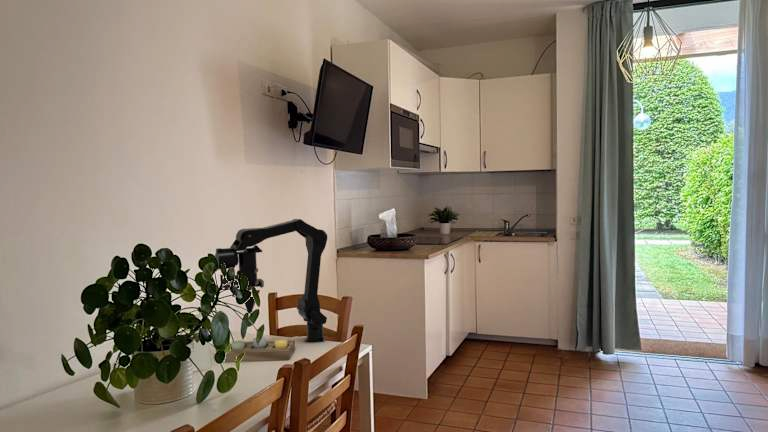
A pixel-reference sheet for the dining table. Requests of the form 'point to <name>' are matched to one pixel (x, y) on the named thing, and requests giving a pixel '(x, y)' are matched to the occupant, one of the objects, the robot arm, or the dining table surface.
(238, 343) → the button sage
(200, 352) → the cup
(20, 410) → the dining table surface
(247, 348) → the brown button tray
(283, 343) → the button amber
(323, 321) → the robot arm
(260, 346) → the button slate
